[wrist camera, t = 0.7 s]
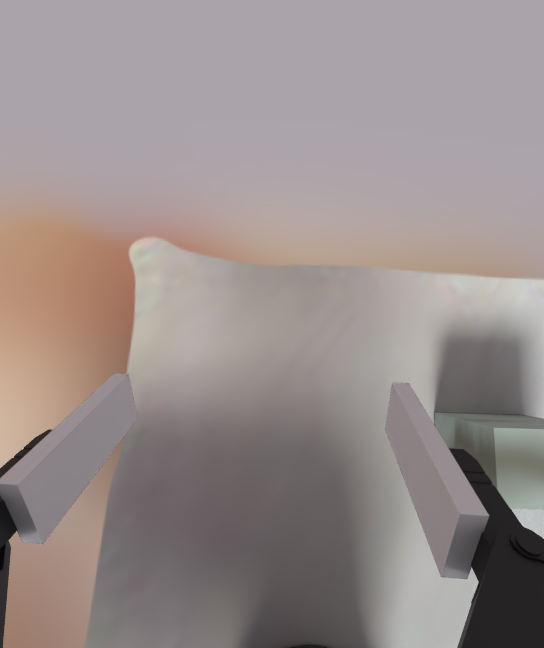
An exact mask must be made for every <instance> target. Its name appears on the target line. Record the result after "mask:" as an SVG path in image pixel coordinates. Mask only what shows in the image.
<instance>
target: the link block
mask: <svg viewBox="0 0 544 648" xmlns="http://www.w3.org/2000/svg"><path fill="white" fill-rule="evenodd" d="M435 427H436V429H437V430H438V432H439V434H440V435H441V437H442V439H443V440H444V442H445V444H446V445H447V447H448V448H454V449H464V450H466V451H467V452H468V453H469V454H470V455H471V456H473V457H474V458H475V459H476V460H477V461H478V462H479V464H480V465H481V467H482V468H483V470H484V471H485V474H486V475H487V476H488V477H489V478H490V480H491V481H492V484H493V485H494V486H495V487H496V489H497V490H498V491H499V493H500V494H501V496H502V497H503V499H504V500H505V502H506V503H507V505H508V506H509V507H510V509H544V419H542V418H537V417H531V416H526V415H498V414H465V413H435Z"/></svg>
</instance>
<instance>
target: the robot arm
mask: <svg viewBox="0 0 544 648" xmlns="http://www.w3.org/2000/svg"><path fill="white" fill-rule="evenodd" d="M137 419H138V417H137V412H136V407H135V403H134V398H133V393H132V389H131V384H130V379H129V375H128V374H113V375H112V376H111V377H110V378H109V379H108V380H107V381H106V382H104V383H103V384H102V385H101V386H100V387H99V388H98V389H97V390H96V391H95V392H94V393H93V394H91V395H90V396H89V397H88V398H87V399H86V400H85V401H84V402H83V403H82V404H81V405H79V406H78V407H77V408H76V409H75V410H74V411H73V412H72V413H71V414H70V415H69V416H67V417H66V418H65V419H64V420H63V421H62V422H61V423H60V424H59V425H58V426H57V427H56V428H54V429H53V430H47V431H46V432H44V433H42V434H41V435H39V436H37V437H36V438H34V439H33V440H32V441H31V442H30V443H29V444H28V445H26V446H25V447H24V449H23V450H21V451H20V452H18V453H17V454H16V455H15V456H14V458H12V459H11V460H9V461H8V462H7V463H6V464H5V465H4V466H3V467H1V468H0V648H3V636H4V625H5V612H6V601H7V588H8V577H9V565H10V551H11V547H10V543H9V541H8V540H9V539H10V538H11V537H12V536H13V534H14V533H15V532H16V531H17V532H18V534H19V536H20V538H21V540H22V542H25V543H37V544H43V543H44V542H45V541H46V539H47V538H48V537H49V535H50V534H51V533H52V531H53V530H54V528H55V527H56V526H57V525H58V523H59V522H60V521H61V519H62V518H63V517H64V515H65V514H66V513H67V511H68V510H69V509H70V508H71V506H72V505H73V504H74V502H75V501H76V499H77V498H78V497H79V495H80V494H81V493H82V491H83V490H84V489H85V488H86V486H87V485H88V484H89V482H90V481H91V480H92V478H93V477H94V476H95V474H96V473H97V472H98V470H99V469H100V467H101V466H102V465H103V464H104V462H105V461H106V460H107V458H108V457H109V456H110V454H111V453H112V452H113V450H114V449H115V448H116V446H117V445H118V444H119V442H120V441H121V440H122V438H123V437H124V436H125V434H126V433H127V432H128V430H129V429H130V428H131V427H132V425H133V424H134V423H135V421H136V420H137ZM385 430H386V433H387V435H388V438H389V441H390V443H391V446H392V448H393V451H394V454H395V456H396V459H397V462H398V464H399V467H400V470H401V472H402V475H403V478H404V480H405V483H406V486H407V488H408V491H409V493H410V496H411V499H412V501H413V504H414V507H415V509H416V512H417V515H418V517H419V520H420V523H421V525H422V528H423V530H424V533H425V536H426V538H427V541H428V544H429V546H430V549H431V552H432V554H433V557H434V560H435V562H436V565H437V568H438V570H439V573H440V575H441V577H448V578H460V579H467V578H468V575H469V573H470V570H471V567H472V569H473V571H474V573H475V575H476V577H477V579H478V581H479V583H478V586H477V589H476V591H475V594H474V597H473V599H472V602H471V603H472V604H471V607H470V610H469V613H468V617H467V620H466V623H465V626H464V629H463V632H462V635H461V638H460V641H459V644H458V647H457V648H544V539H543V538H542V537H540V536H539V535H537V534H536V533H534V532H533V531H531V530H529V529H527V528H524V527H523V526H522V525H521V523H520V522H519V521H518V519H517V518H516V516H515V515H514V513H513V512H512V510H511V509H510V507H509V506H508V505H507V503H506V502H505V500H504V499H503V497H502V496H501V494H500V493H499V491H498V490H497V489H496V487H495V486H494V485H493V484H492V481H491V480H490V478H489V477H488V476H487V475H486V474H485V471H484V470H483V468H482V467H481V465H480V464H479V462H478V461H477V460H476V459H475V458H474V457H473V456H471V455H470V454H469V453H468V452H467V451H466V450H464V449H454V448H448V447H447V445H446V444H445V442H444V440H443V439H442V437H441V435H440V434H439V432H438V430H437V429H436V427H435V425H434V424H433V422H432V421H431V419H430V417H429V416H428V414H427V412H426V411H425V409H424V407H423V406H422V404H421V402H420V401H419V399H418V397H417V396H416V394H415V392H414V391H413V389H412V388H411V386H410V384H409V383H392V387H391V394H390V401H389V407H388V414H387V421H386V427H385ZM294 648H326V647H321V646H299V647H294Z"/></svg>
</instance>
